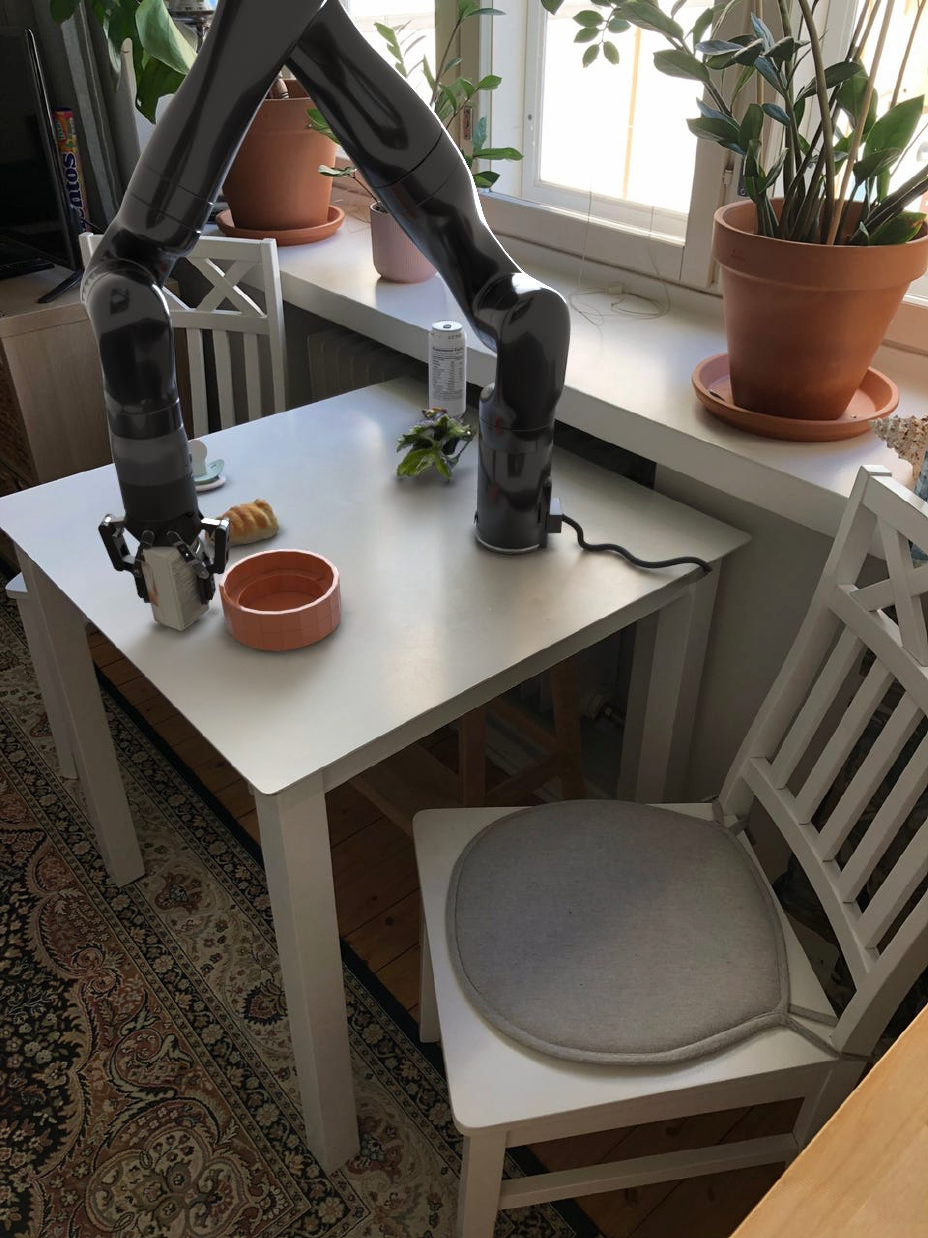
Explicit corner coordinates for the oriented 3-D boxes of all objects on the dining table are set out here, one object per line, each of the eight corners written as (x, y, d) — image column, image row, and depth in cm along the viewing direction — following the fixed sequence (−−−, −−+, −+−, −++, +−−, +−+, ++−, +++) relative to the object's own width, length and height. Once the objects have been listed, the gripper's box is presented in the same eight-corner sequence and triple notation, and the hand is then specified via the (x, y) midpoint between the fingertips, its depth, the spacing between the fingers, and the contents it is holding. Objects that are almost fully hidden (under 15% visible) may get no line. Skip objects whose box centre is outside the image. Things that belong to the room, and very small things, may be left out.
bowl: (347, 587, 112) (344, 549, 109) (335, 655, 102) (331, 614, 99) (238, 586, 112) (232, 548, 109) (214, 654, 102) (207, 613, 98)
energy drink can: (467, 408, 156) (469, 319, 147) (462, 423, 151) (464, 332, 142) (432, 406, 157) (431, 317, 148) (426, 420, 152) (425, 330, 143)
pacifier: (232, 488, 133) (223, 469, 137) (226, 449, 129) (217, 430, 133) (179, 497, 130) (173, 478, 135) (172, 458, 127) (165, 439, 131)
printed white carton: (181, 599, 109) (168, 525, 103) (211, 610, 108) (199, 535, 102) (150, 621, 106) (135, 545, 100) (180, 633, 104) (166, 556, 98)
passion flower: (435, 492, 143) (471, 422, 141) (464, 512, 134) (503, 438, 132) (374, 463, 137) (411, 389, 135) (400, 481, 128) (440, 403, 126)
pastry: (220, 557, 118) (215, 531, 115) (196, 536, 122) (191, 510, 120) (285, 534, 122) (281, 508, 120) (260, 514, 127) (256, 489, 124)
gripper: (71, 480, 92) (104, 617, 102) (216, 484, 93) (235, 621, 102) (95, 448, 98) (125, 580, 108) (231, 451, 99) (248, 583, 109)
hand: (178, 599), depth 105 cm, fingers closed on printed white carton, 5 cm apart
